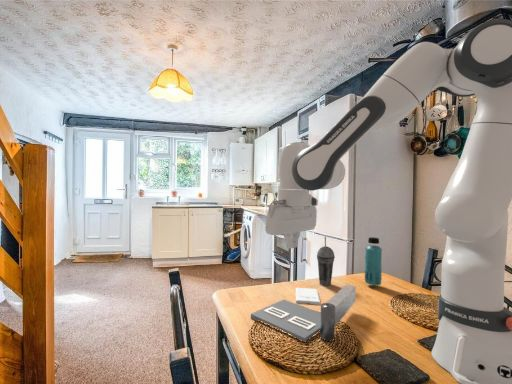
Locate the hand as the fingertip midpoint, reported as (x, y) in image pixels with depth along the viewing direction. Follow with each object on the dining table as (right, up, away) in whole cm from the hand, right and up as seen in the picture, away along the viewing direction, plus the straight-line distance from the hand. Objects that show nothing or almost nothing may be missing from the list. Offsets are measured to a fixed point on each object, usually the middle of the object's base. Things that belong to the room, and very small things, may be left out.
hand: (291, 247), depth 79 cm
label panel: (+1, -22, +2) cm, 22 cm away
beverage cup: (+18, -22, +35) cm, 45 cm away
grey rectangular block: (+14, -22, 0) cm, 26 cm away
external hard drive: (+8, -23, +20) cm, 32 cm away
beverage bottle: (+38, -23, +33) cm, 55 cm away
